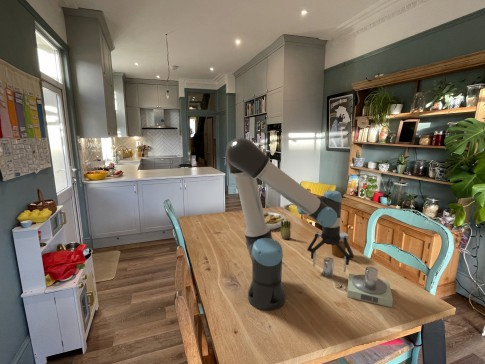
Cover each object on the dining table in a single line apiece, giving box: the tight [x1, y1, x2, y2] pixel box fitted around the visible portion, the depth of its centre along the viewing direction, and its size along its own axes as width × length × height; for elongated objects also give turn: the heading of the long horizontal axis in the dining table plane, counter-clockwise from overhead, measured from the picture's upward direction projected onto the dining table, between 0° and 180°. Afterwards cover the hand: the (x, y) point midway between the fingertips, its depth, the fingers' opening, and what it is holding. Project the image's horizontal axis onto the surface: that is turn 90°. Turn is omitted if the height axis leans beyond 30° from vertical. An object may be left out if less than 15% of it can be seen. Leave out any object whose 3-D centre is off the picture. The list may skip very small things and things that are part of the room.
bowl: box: [263, 210, 287, 231], centre depth 190 cm, size 30×30×8 cm
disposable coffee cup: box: [331, 230, 350, 258], centre depth 141 cm, size 10×10×12 cm
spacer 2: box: [364, 266, 379, 291], centre depth 104 cm, size 4×4×8 cm
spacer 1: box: [322, 256, 335, 279], centre depth 121 cm, size 4×4×8 cm
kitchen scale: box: [346, 273, 394, 308], centre depth 108 cm, size 14×16×4 cm
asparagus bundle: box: [280, 220, 292, 240], centre depth 162 cm, size 6×5×12 cm
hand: (329, 267), depth 121 cm, fingers open, 13 cm apart
